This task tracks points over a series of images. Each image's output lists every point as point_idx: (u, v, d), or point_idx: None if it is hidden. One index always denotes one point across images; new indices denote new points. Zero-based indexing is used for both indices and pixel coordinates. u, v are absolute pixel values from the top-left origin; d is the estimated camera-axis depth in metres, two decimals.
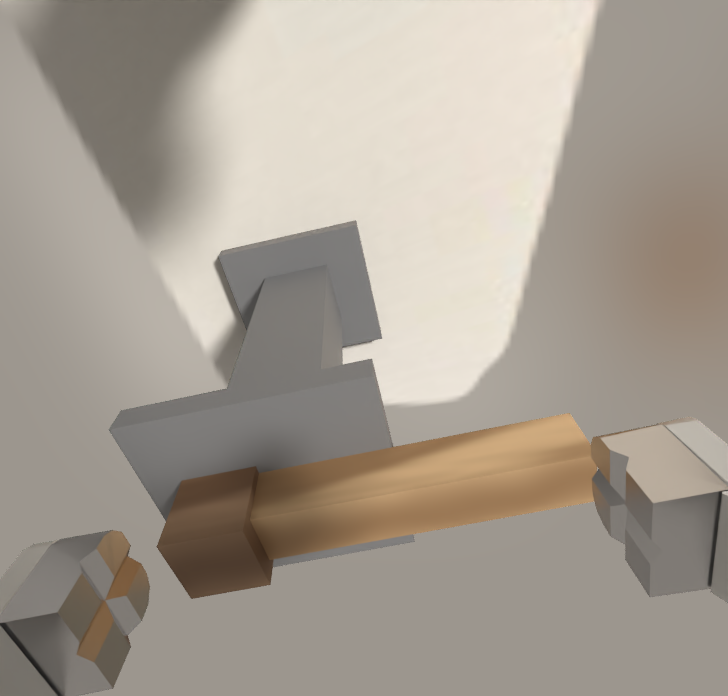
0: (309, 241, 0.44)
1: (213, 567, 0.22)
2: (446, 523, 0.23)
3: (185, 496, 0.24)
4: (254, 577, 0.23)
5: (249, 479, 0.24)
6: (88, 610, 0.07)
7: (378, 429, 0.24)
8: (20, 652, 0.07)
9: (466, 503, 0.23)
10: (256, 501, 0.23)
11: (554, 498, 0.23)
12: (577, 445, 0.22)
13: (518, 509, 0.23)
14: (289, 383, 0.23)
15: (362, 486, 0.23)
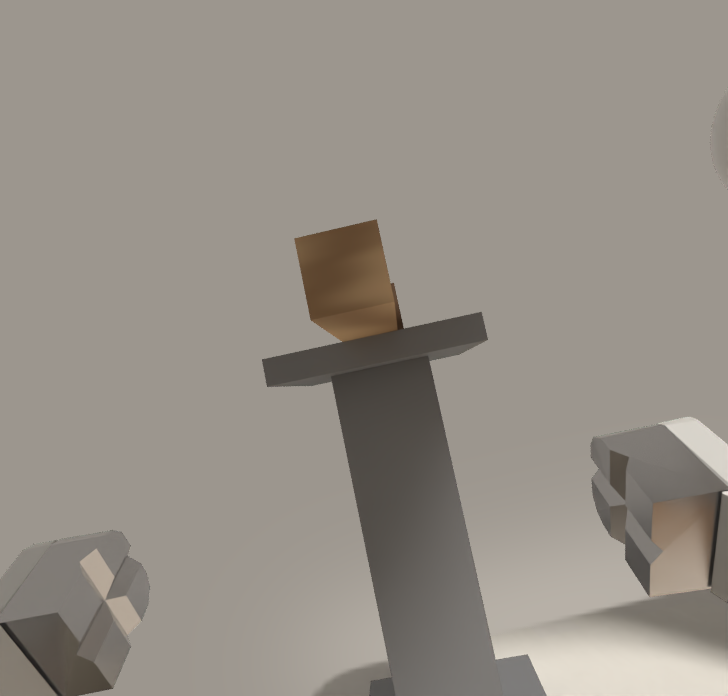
0: None
1: None
2: None
3: None
4: None
5: None
6: (88, 610, 0.07)
7: None
8: (20, 652, 0.07)
9: None
10: None
11: None
12: None
13: None
14: None
15: None
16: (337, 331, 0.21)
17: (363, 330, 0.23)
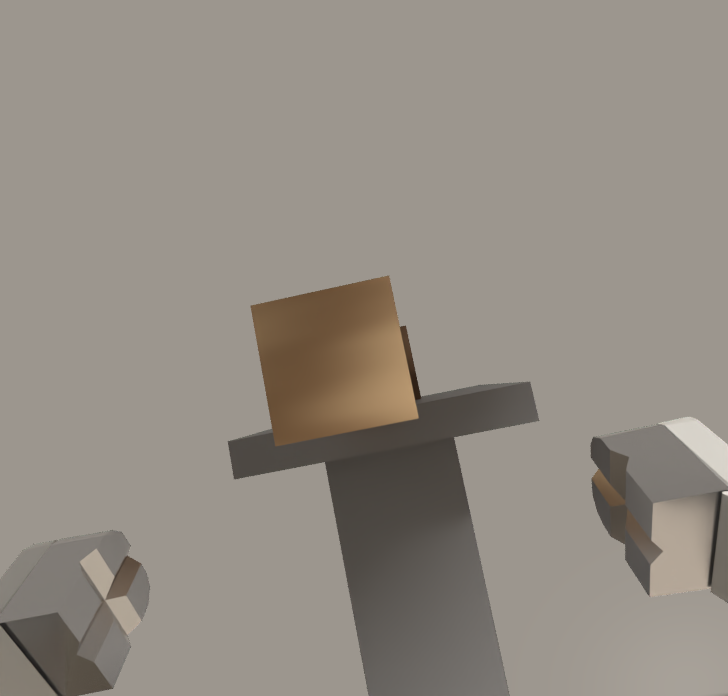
0: None
1: None
2: None
3: None
4: None
5: (417, 382, 0.26)
6: (88, 610, 0.07)
7: (446, 397, 0.19)
8: (20, 652, 0.07)
9: None
10: None
11: None
12: None
13: None
14: None
15: None
16: None
17: None
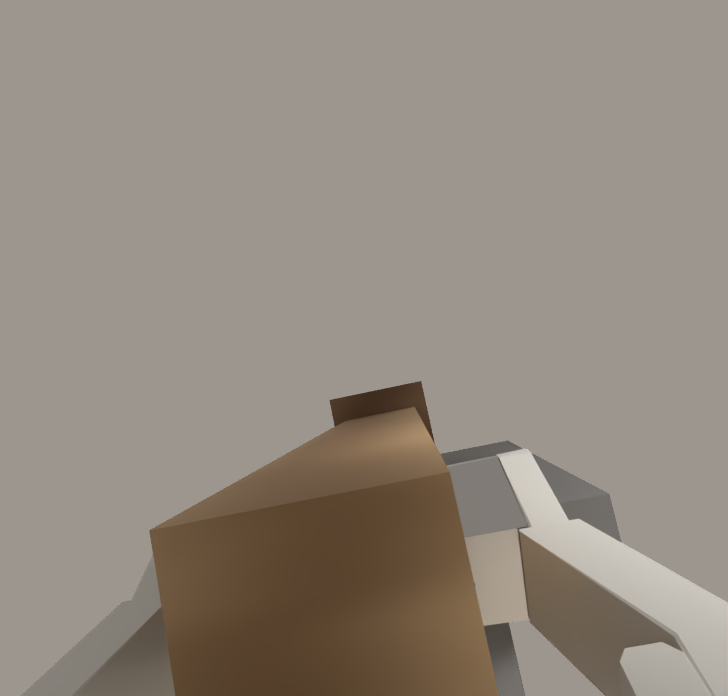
0: None
1: None
2: (315, 442, 0.12)
3: None
4: None
5: None
6: None
7: None
8: None
9: (354, 438, 0.11)
10: None
11: (270, 480, 0.07)
12: None
13: (279, 464, 0.08)
14: None
15: None
16: None
17: None
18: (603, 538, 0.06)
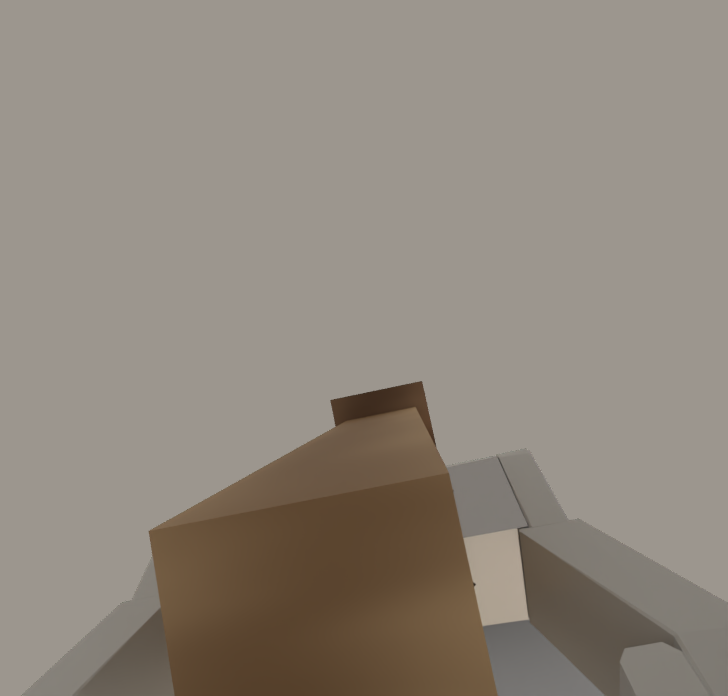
0: None
1: None
2: (316, 442, 0.12)
3: None
4: None
5: None
6: None
7: None
8: None
9: (354, 438, 0.11)
10: None
11: (270, 480, 0.07)
12: None
13: (279, 465, 0.08)
14: None
15: None
16: None
17: None
18: (602, 538, 0.06)
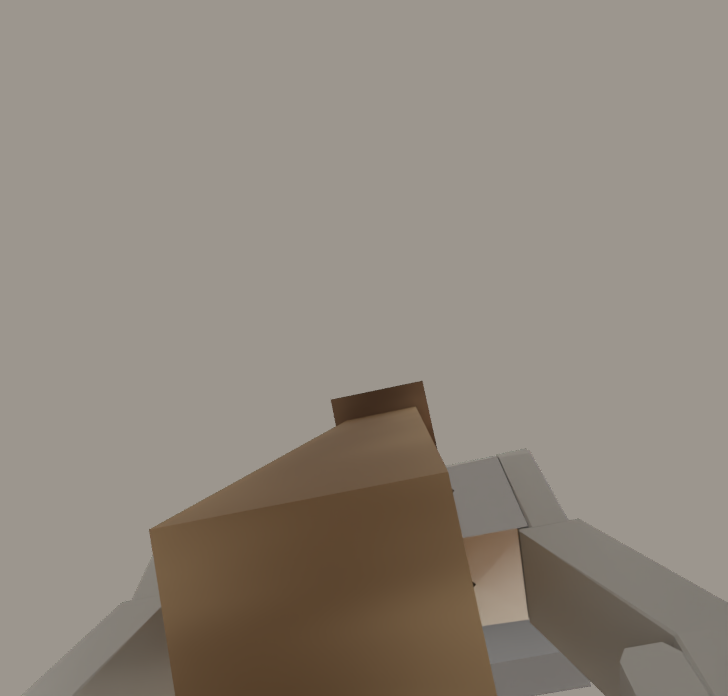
0: None
1: None
2: (316, 442, 0.12)
3: None
4: None
5: None
6: None
7: (502, 655, 0.21)
8: None
9: (354, 438, 0.11)
10: None
11: (270, 479, 0.07)
12: None
13: (280, 464, 0.08)
14: None
15: None
16: None
17: None
18: (603, 539, 0.06)
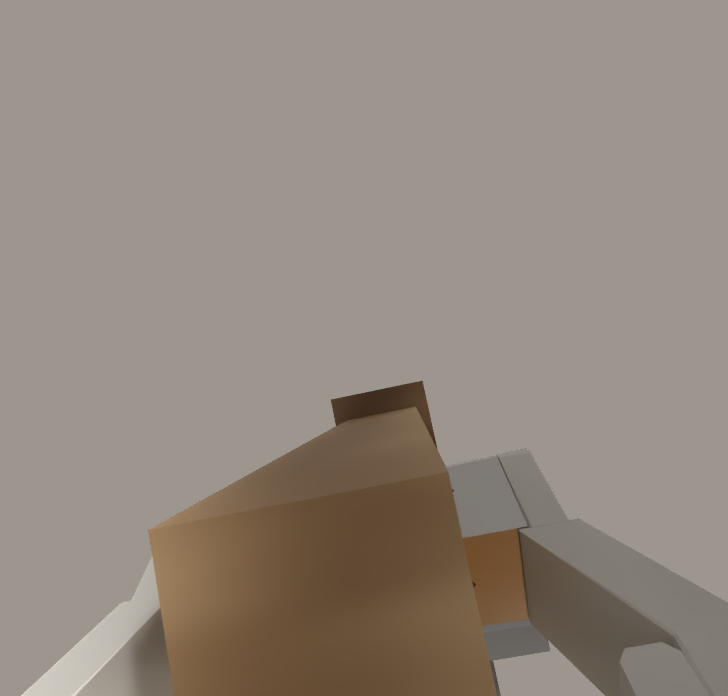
0: None
1: None
2: (316, 442, 0.12)
3: None
4: None
5: None
6: None
7: (485, 628, 0.27)
8: None
9: (354, 438, 0.11)
10: None
11: (270, 480, 0.07)
12: None
13: (279, 464, 0.08)
14: None
15: None
16: None
17: None
18: (602, 538, 0.06)
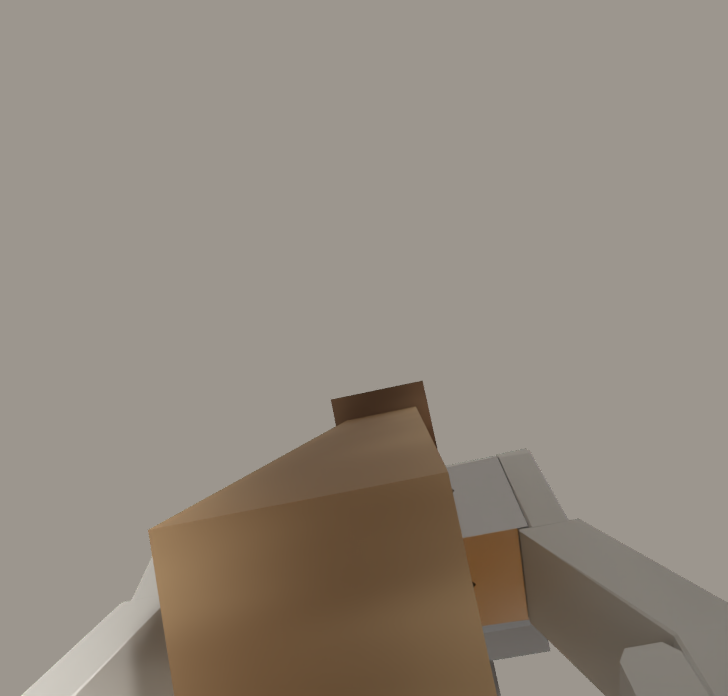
0: None
1: None
2: (316, 442, 0.12)
3: None
4: None
5: None
6: None
7: (485, 628, 0.27)
8: None
9: (354, 438, 0.11)
10: None
11: (270, 480, 0.07)
12: None
13: (280, 465, 0.08)
14: None
15: None
16: None
17: None
18: (603, 539, 0.06)
